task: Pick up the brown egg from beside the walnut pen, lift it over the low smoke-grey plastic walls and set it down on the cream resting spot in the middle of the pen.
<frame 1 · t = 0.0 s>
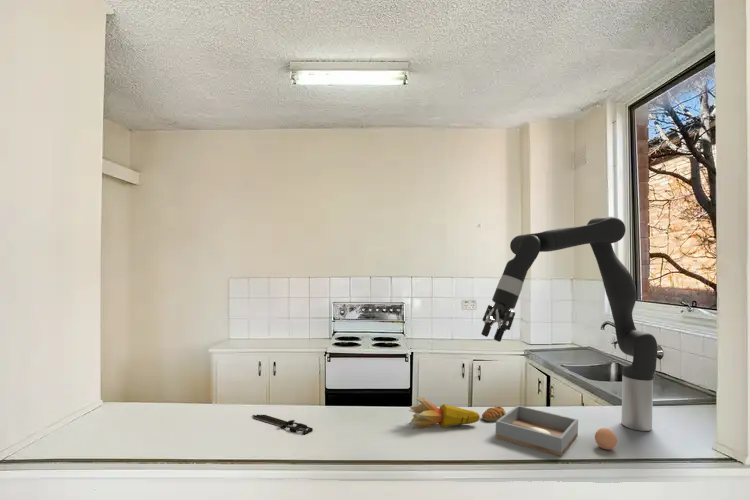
hand: (490, 338, 140), 31 cm above the counter, tool tilted 20°, fingers open, 8 cm apart
torch: (443, 427, 146), on the counter
pen walls: (537, 426, 140), on the pen board, point 3 cm above the counter
knife: (279, 426, 144), on the counter
brown egg: (605, 438, 133), point 3 cm above the counter
pen board: (537, 436, 140), on the counter
pastry: (494, 419, 156), on the counter
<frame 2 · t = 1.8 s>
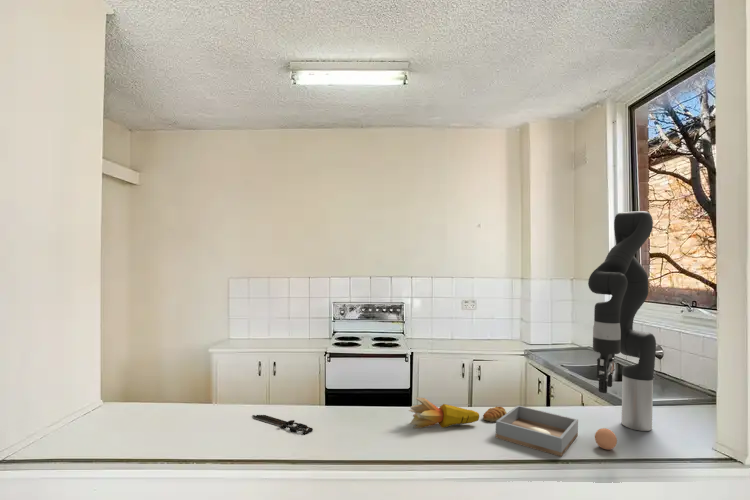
hand: (605, 389, 133), 18 cm above the counter, tool pointing down, fingers open, 8 cm apart
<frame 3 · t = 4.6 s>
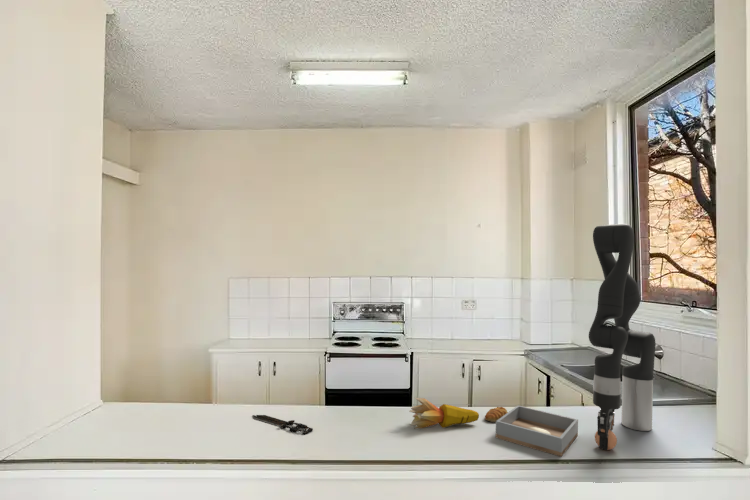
hand: (605, 445, 133), 1 cm above the counter, tool pointing down, fingers closed on brown egg, 6 cm apart
brown egg: (605, 438, 133), point 3 cm above the counter, touching gripper
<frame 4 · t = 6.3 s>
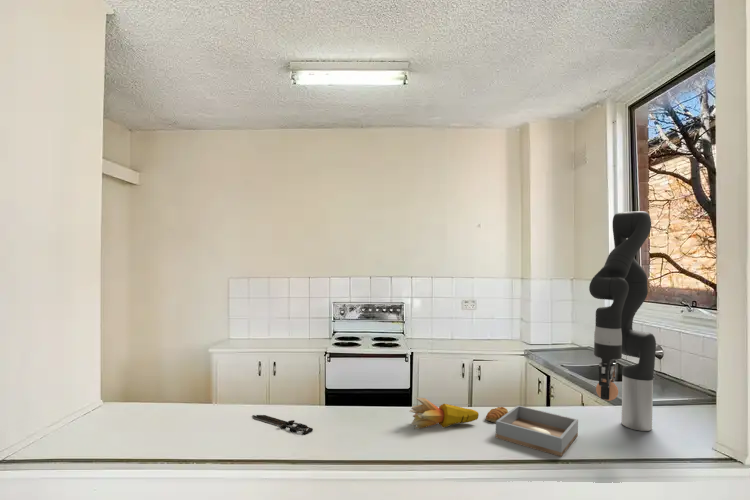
hand: (607, 396, 133), 16 cm above the counter, tool pointing down, fingers closed on brown egg, 6 cm apart
brown egg: (607, 390, 133), point 18 cm above the counter, touching gripper
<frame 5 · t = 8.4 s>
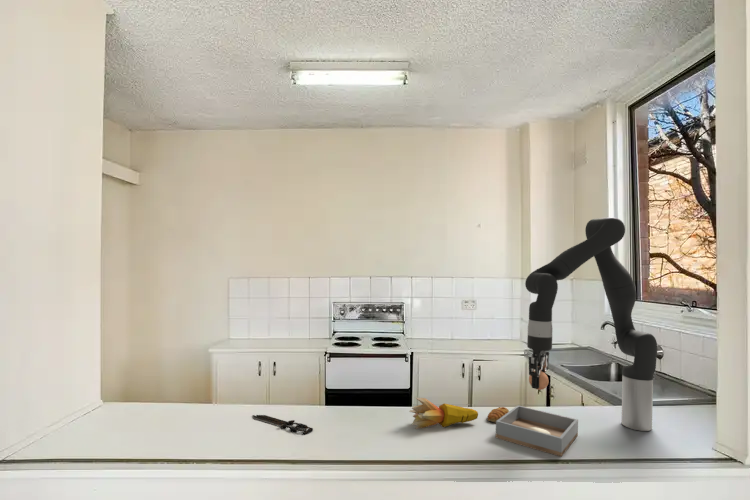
hand: (538, 385, 141), 16 cm above the counter, tool pointing down, fingers closed on brown egg, 6 cm apart
brown egg: (538, 380, 141), point 18 cm above the counter, touching gripper
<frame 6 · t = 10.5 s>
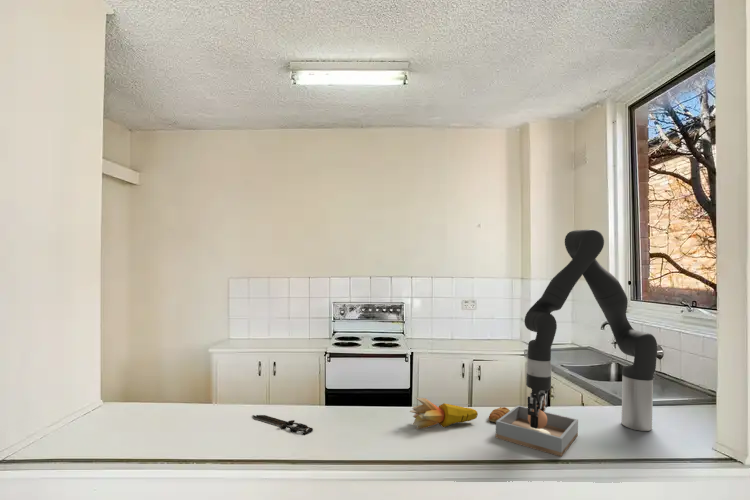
hand: (537, 424, 140), 4 cm above the counter, tool pointing down, fingers closed on brown egg, 6 cm apart
brown egg: (537, 418, 140), point 6 cm above the counter, touching gripper
when the fingers open (4 cm above the counter, at t = 11.5 s): brown egg drops 1 cm, resting on pen board.
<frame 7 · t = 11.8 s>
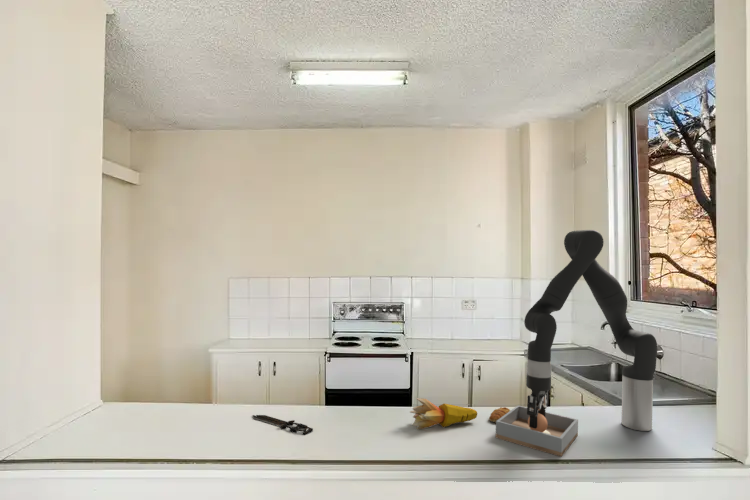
hand: (537, 423, 141), 4 cm above the counter, tool pointing down, fingers open, 8 cm apart
brown egg: (537, 422, 140), point 4 cm above the counter, touching pen board
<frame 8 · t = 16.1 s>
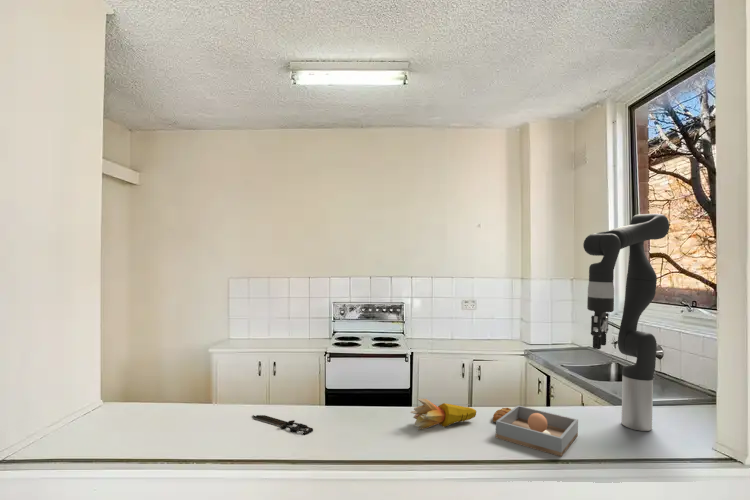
hand: (599, 346, 138), 30 cm above the counter, tool pointing down, fingers open, 8 cm apart
at the end: brown egg inside the target area on the pen board (0.0 cm from its centre), point 4.4 cm above the pen board's base; the gripper is holding nothing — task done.
